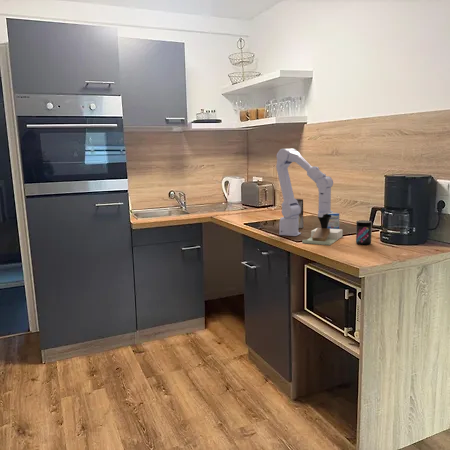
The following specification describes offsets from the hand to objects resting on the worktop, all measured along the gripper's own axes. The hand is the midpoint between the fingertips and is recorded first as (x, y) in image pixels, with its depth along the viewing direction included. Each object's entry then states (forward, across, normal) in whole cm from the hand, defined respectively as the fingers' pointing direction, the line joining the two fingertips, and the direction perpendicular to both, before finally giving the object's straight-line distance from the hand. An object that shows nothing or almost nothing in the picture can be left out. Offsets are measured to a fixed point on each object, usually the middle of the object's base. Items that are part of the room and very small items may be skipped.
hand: (324, 229), depth 203 cm
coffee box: (+5, +23, +24) cm, 34 cm away
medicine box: (+5, +27, +4) cm, 28 cm away
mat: (+4, -7, 0) cm, 8 cm away
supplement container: (+5, -4, -20) cm, 20 cm away
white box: (+4, +4, 0) cm, 6 cm away
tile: (+2, -4, 0) cm, 5 cm away
